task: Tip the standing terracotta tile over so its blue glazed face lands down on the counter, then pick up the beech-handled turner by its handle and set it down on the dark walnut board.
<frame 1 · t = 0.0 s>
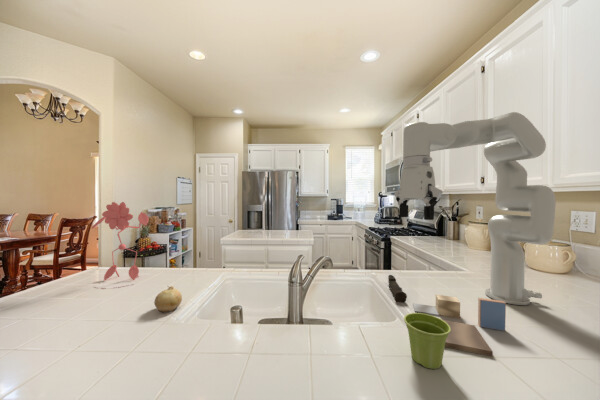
hand: (415, 218, 72), 31 cm above the worktop, tool pointing down, fingers open, 9 cm apart
tile: (491, 327, 67), on the worktop
plant pot: (425, 360, 53), on the worktop
hand tool: (393, 293, 92), on the worktop
onion: (168, 309, 76), on the worktop
board: (451, 335, 62), on the worktop
figurine: (116, 282, 100), on the worktop
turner: (447, 313, 75), on the worktop
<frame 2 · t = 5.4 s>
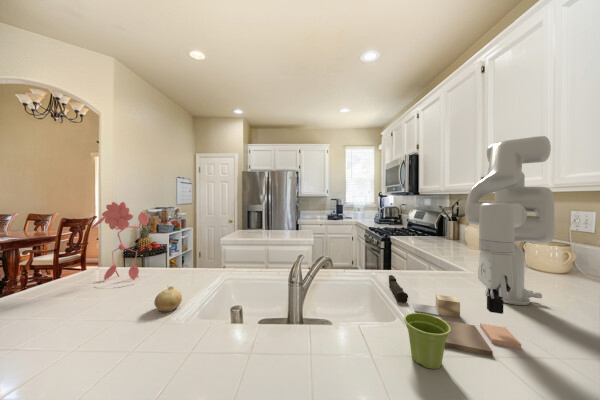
hand: (494, 311, 64), 6 cm above the worktop, tool pointing down, fingers closed
tile: (492, 328, 66), on the worktop, tilted 90°
everything else where it was.
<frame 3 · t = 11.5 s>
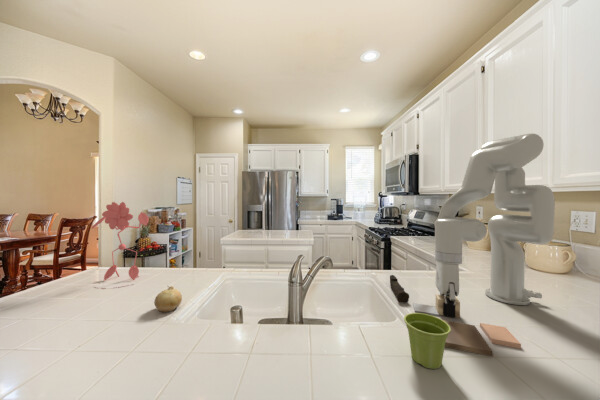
hand: (447, 312, 75), 0 cm above the worktop, tool pointing down, fingers closed on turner, 4 cm apart
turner: (447, 313, 75), on the worktop, touching gripper
everything else where it was.
when the fingers open (3 cm above the worktop, at t = 16.6 s): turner drops 1 cm, resting on board.
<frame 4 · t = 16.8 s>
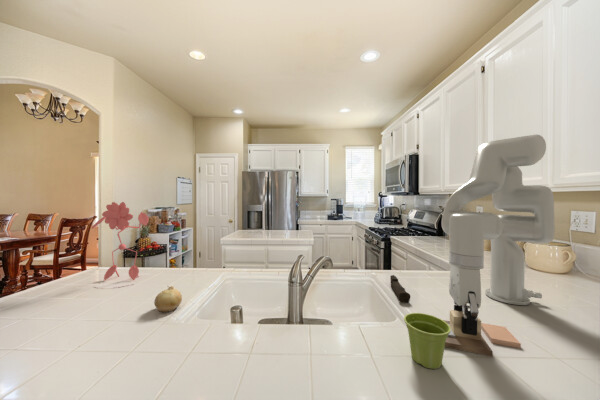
hand: (464, 326, 61), 3 cm above the worktop, tool pointing down, fingers open, 6 cm apart
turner: (464, 333, 61), point 1 cm above the worktop, touching board
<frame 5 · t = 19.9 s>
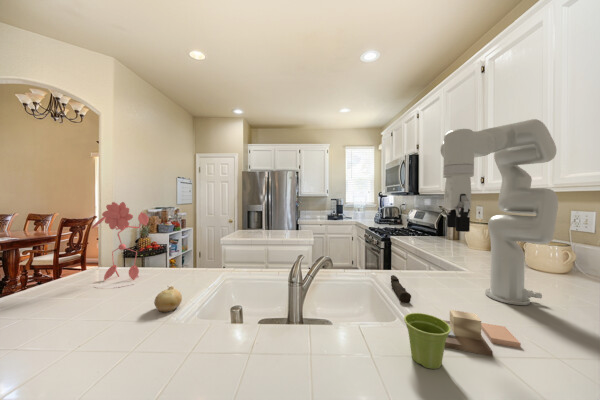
hand: (457, 229, 69), 28 cm above the worktop, tool pointing down, fingers open, 9 cm apart
at the end: tile tilted 90°; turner inside the target area on the board (3.0 cm from its centre), point 1.2 cm above the board's base; the gripper is holding nothing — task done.
